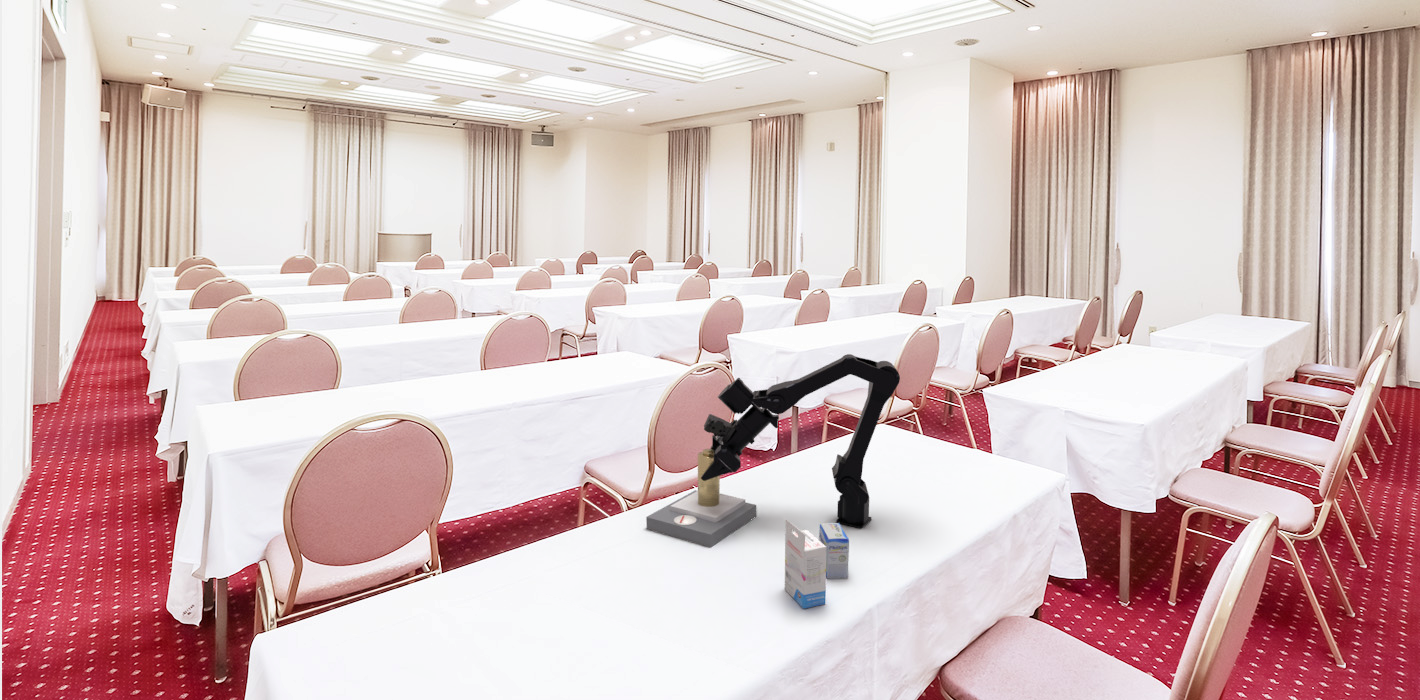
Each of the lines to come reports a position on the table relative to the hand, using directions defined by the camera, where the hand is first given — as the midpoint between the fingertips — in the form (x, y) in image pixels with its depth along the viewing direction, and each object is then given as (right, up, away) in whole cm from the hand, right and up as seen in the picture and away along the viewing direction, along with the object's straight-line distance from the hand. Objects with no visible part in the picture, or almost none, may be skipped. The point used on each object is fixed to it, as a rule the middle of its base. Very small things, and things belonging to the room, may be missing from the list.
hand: (702, 472), depth 178 cm
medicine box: (+27, -16, -24) cm, 40 cm away
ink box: (+20, -18, -34) cm, 44 cm away
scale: (0, -12, 0) cm, 12 cm away
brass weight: (+2, -7, +1) cm, 8 cm away
